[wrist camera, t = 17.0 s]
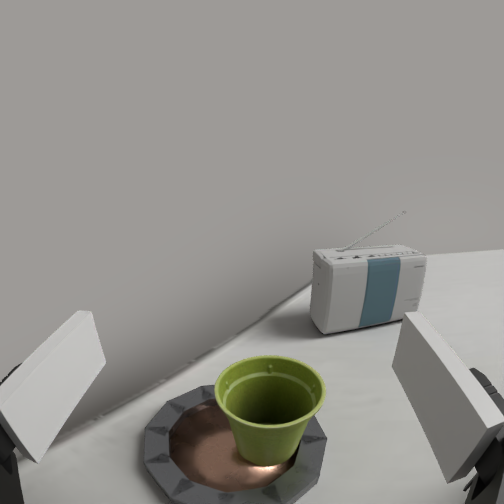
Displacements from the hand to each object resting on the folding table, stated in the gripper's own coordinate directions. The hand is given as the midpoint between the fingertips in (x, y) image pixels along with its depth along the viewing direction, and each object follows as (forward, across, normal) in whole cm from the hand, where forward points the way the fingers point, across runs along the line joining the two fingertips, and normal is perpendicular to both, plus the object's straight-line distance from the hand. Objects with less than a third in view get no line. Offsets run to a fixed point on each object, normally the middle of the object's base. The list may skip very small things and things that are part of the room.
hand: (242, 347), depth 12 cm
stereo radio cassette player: (+38, +19, -21) cm, 47 cm away
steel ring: (+9, -2, -20) cm, 22 cm away
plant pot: (+10, +1, -20) cm, 22 cm away
